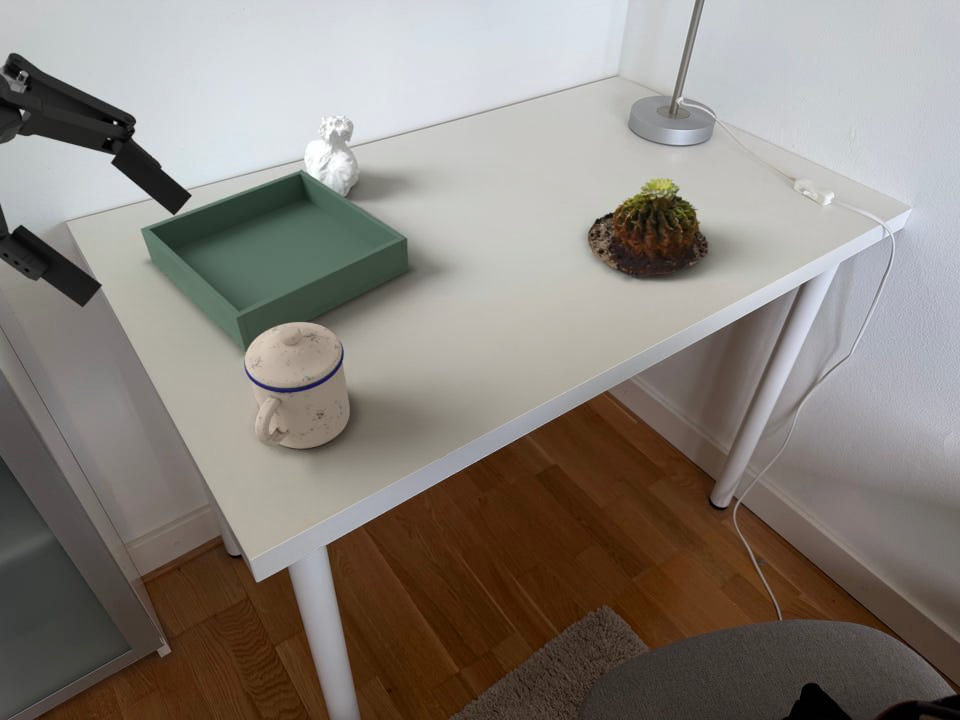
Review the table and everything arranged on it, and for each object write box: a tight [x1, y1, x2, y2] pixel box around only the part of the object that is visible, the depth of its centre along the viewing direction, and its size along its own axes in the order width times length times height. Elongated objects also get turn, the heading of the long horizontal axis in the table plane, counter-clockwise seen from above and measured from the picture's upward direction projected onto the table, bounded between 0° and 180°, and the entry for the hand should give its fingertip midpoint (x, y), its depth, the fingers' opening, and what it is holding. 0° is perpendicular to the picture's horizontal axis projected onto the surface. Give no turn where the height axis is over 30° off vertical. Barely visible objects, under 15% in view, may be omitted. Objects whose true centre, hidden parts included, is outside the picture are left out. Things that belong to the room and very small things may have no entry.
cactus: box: [587, 177, 709, 277], centre depth 92 cm, size 17×16×10 cm
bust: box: [304, 114, 361, 197], centre depth 102 cm, size 12×8×11 cm
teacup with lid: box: [243, 321, 351, 449], centre depth 65 cm, size 12×9×12 cm
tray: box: [140, 169, 410, 353], centre depth 87 cm, size 24×24×5 cm
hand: (142, 247), depth 57 cm, fingers open, 13 cm apart
